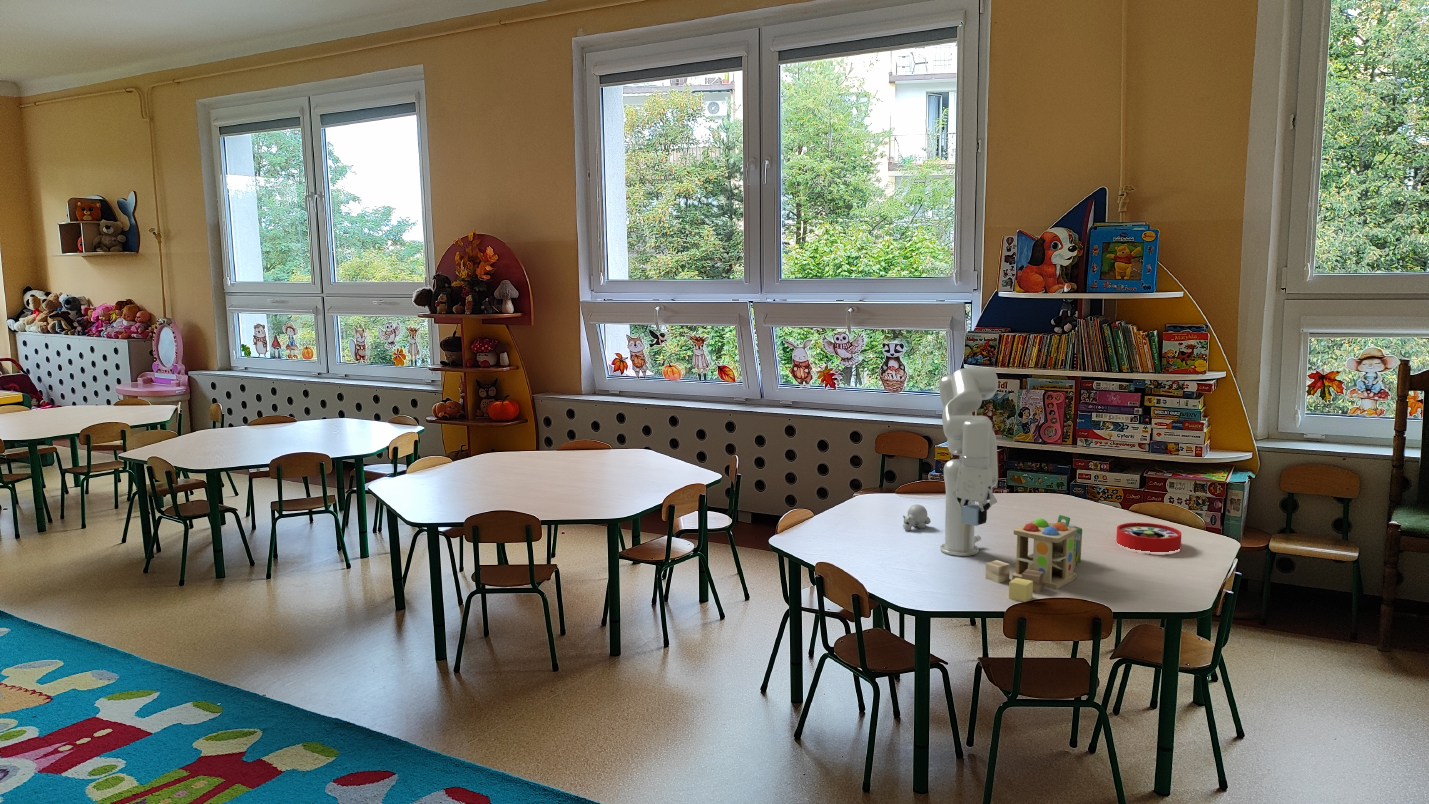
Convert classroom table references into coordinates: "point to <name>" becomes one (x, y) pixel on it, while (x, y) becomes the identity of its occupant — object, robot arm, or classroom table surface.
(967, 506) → the slate-blue cube
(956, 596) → the classroom table surface
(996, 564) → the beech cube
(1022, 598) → the mustard cube
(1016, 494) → the classroom table surface
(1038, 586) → the walnut cube
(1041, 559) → the pounding bench toy
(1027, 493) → the classroom table surface
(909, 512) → the chubby cartoon animal
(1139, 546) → the toy clock
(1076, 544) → the chalk box
